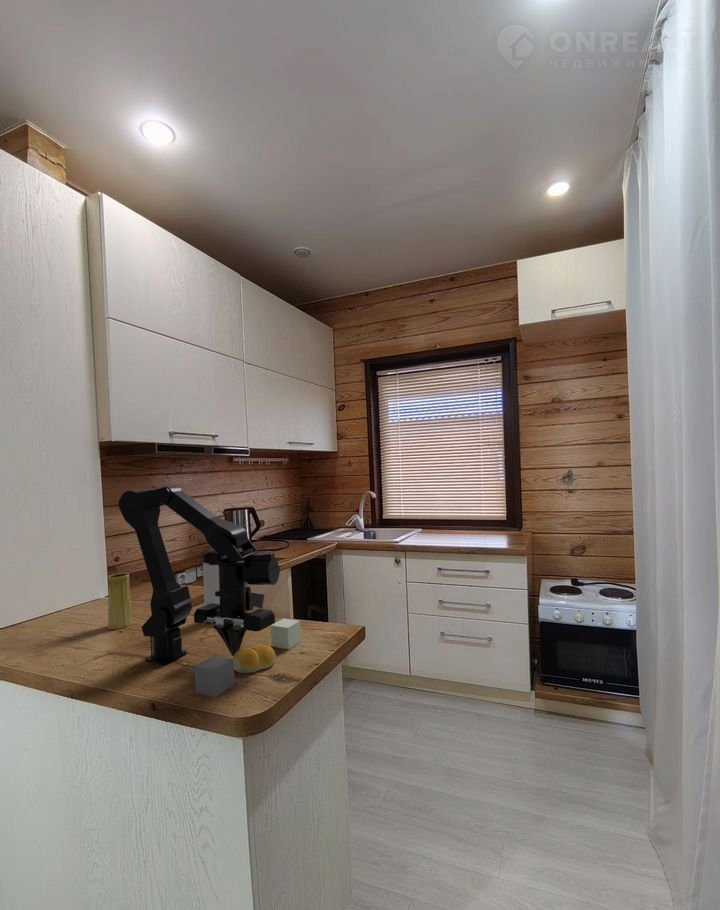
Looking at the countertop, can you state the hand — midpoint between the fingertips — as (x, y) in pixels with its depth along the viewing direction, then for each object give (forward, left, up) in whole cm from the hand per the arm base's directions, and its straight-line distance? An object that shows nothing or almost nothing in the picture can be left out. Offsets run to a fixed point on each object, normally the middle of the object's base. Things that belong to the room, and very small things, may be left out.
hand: (235, 655), depth 96 cm
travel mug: (-25, +20, -1) cm, 32 cm away
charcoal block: (+5, -11, -1) cm, 12 cm away
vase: (-49, +7, -1) cm, 50 cm away
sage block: (+5, +12, -1) cm, 13 cm away
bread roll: (+5, 0, -2) cm, 5 cm away
